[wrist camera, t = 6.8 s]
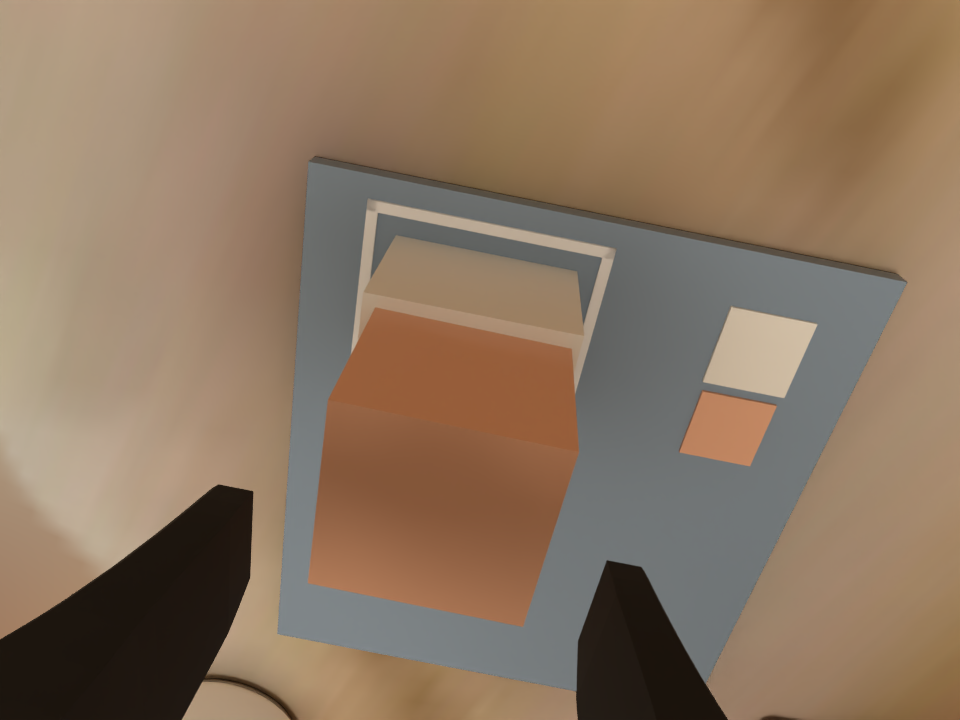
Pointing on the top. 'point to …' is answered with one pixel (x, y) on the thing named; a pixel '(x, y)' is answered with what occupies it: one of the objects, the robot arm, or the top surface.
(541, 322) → the base block
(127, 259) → the top surface
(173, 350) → the top surface
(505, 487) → the terracotta block
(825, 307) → the board
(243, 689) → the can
